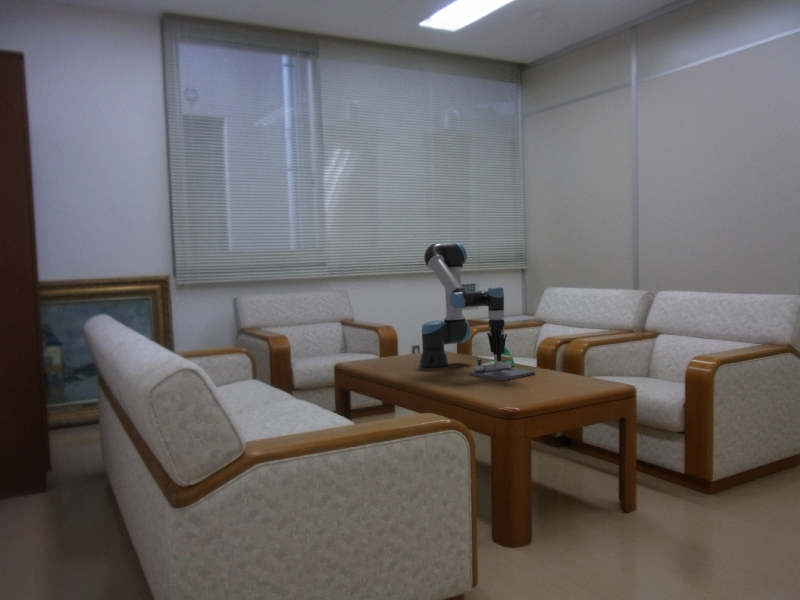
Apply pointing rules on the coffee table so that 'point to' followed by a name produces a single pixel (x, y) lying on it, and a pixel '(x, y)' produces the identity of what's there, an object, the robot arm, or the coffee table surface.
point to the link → (490, 366)
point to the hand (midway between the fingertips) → (497, 367)
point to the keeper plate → (503, 372)
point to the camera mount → (505, 354)
